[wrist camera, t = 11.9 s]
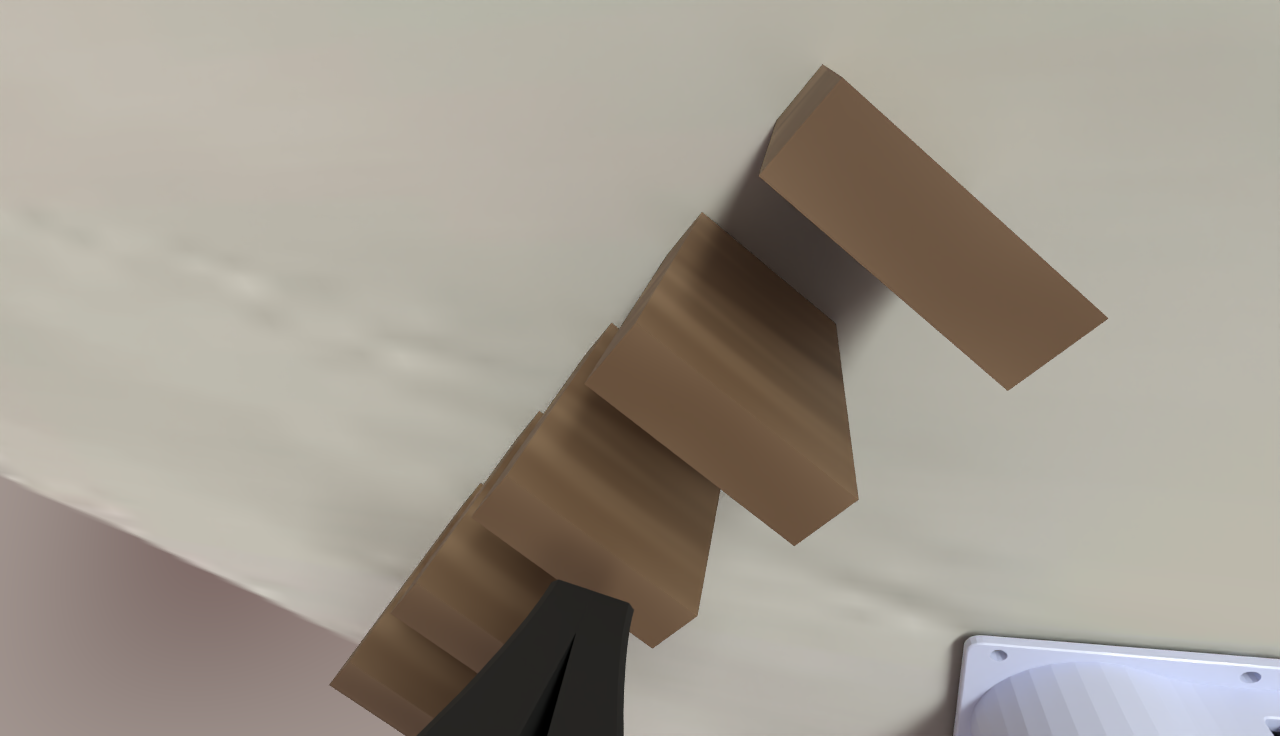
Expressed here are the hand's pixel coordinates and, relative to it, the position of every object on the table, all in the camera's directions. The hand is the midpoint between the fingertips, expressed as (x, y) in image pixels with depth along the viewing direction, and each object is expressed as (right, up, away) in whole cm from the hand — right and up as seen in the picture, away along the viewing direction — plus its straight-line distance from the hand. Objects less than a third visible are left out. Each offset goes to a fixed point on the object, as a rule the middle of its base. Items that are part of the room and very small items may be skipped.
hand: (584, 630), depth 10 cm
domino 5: (+7, +10, +5) cm, 13 cm away
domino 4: (+4, +7, +8) cm, 11 cm away
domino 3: (+2, +4, +10) cm, 10 cm away
